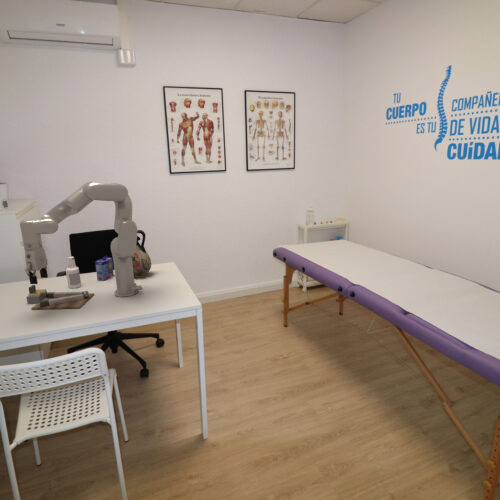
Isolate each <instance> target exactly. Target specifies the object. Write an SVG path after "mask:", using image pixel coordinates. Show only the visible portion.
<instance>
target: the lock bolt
mask: <svg viewBox="0 0 500 500" xmlns="http://www.w3.org/2000/svg"><path fill="white" fill-rule="evenodd" d="M46 291H47V289H37V288H36V284H31V285H30V286H29V287H28V292H29V293H28V294H27V296H41V295H42V294H44V293H45V292H46Z"/></svg>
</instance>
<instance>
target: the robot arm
mask: <svg viewBox="0 0 500 500" xmlns="http://www.w3.org/2000/svg"><path fill="white" fill-rule="evenodd" d="M94 201H102V202H113V203H114V206H115V212H114V224H113V229H114V231H115V232H116V233H117V237H115V238H113V239H112V241H111V242H110V252H111V256H112V261H113V271H114V277H115V285H116V290H115V291H114V293H113V295H114V296H116V297H120V298H125V297H126V298H128V297H131V296H135V295H136V294H137V293H138V292H139V291H143V289H144V288H143V286H142V285H138V284H137V282H135V278H134V274H133V264H132V257H131V256H133V255H134V253H135V250H136V242H137V236H138V234H137V230H138V225H137V224H136V222H135V221H134V220H133V203H132V199H131V197H130V195H129V190H128V189H127V187H126V186H125V185H123V184H120V183H116V182H111V183H103V182H96V181H88V182H85V183H83V185H81V186H80V187H79V188H78V189H76V190H75V191H74V192H72V194H70V195H69V196H68V197H66V198H65V199H64V200H62V201H60V203H58V204H56V205H54V207H52V208H51V209H50V210H48V211H47V212H46V213H44V214H43V216H41V217H40V218H39V219H34V218H29V219H28V218H27V219H23V220H20V222H19V228H20V233H21V238H22V245H23V249H24V259H25V266H26V267H25V268H24V272H25V273H26V275H27V276H28V278H29V283H30V285H37V284H38V283H39V282H38V277H37V271H39V274H40V278H41V279H46V278H48V277H49V276H48V259H47V255H46V251H45V248H44V245H43V241H42V235H53V234H55V233H56V232H57V231H58V230H59V224H60V223H61V222H63V221H64V220H66V219H67V218H69V217H71V216H74V215H77V214H78V213H80V212H81V211H83V210H84V209H85V208H86V207H87V206H88V205H90V204H91V203H92V202H94Z"/></svg>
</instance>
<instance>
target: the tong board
mask: <svg viewBox="0 0 500 500" xmlns="http://www.w3.org/2000/svg"><path fill="white" fill-rule="evenodd" d="M88 293H89V298H86V299H84V300H78V301H72V302H67V303H61V304H55V305H49V306H43V307H40V302H39V303H38V304H35V305H33V306H32V307H31V311H37V310H39V311H40V310H41V311H42V310H43V311H44V310H77V309H81V308H82V307H84V306H85V304H86V303H88V302H89V301H90V300H91V299H92V298H93V297H94V296H95V293H93V292H92V293H90V292H88ZM49 299H55V298H45V299H43V300H49ZM43 300H42V301H43Z"/></svg>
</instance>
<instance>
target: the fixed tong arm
mask: <svg viewBox="0 0 500 500" xmlns="http://www.w3.org/2000/svg"><path fill="white" fill-rule="evenodd" d="M82 292H83V291H57V292H56V291H54V292H53V291H51V292H48V291H47V294H46V298H61V297H67V296H73V295H79V294H82Z"/></svg>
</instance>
